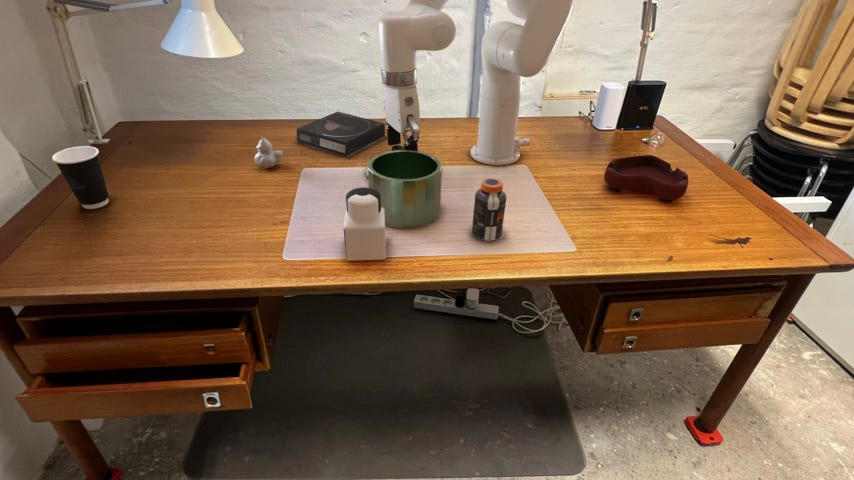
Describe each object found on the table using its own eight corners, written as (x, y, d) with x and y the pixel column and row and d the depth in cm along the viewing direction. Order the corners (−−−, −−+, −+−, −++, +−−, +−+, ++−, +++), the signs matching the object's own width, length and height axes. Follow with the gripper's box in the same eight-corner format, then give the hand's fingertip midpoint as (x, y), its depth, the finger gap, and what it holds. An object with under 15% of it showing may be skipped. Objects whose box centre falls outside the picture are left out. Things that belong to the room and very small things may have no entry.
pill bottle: (500, 243, 98) (506, 190, 91) (469, 239, 99) (474, 187, 92) (502, 228, 102) (509, 176, 96) (473, 224, 103) (478, 173, 97)
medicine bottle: (348, 240, 97) (343, 183, 90) (385, 239, 98) (383, 182, 91) (346, 261, 92) (340, 202, 84) (385, 260, 92) (383, 202, 85)
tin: (421, 189, 115) (422, 145, 109) (451, 219, 105) (454, 172, 99) (360, 202, 110) (357, 156, 104) (386, 234, 99) (384, 186, 93)
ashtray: (685, 180, 123) (691, 161, 120) (681, 210, 111) (688, 189, 108) (609, 165, 129) (614, 147, 126) (598, 192, 116) (603, 172, 114)
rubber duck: (257, 162, 125) (251, 130, 120) (285, 161, 126) (280, 130, 121) (255, 171, 120) (249, 139, 116) (283, 170, 121) (278, 138, 117)
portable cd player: (297, 143, 135) (295, 129, 132) (339, 125, 147) (337, 111, 144) (345, 158, 128) (344, 143, 126) (385, 137, 140) (384, 123, 138)
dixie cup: (117, 191, 111) (99, 143, 104) (116, 208, 105) (97, 158, 98) (75, 198, 108) (53, 149, 101) (72, 215, 102) (49, 164, 95)
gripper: (432, 85, 104) (433, 162, 114) (399, 64, 116) (402, 136, 126) (399, 90, 101) (402, 169, 111) (368, 69, 113) (374, 141, 124)
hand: (402, 151), depth 119 cm, fingers open, 9 cm apart
